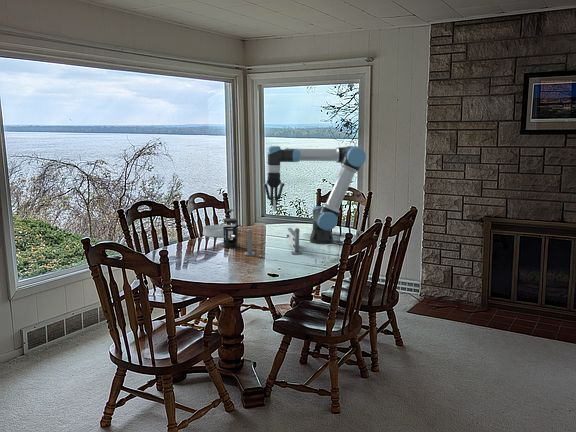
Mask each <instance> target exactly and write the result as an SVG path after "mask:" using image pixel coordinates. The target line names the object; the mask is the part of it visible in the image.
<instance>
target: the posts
mask: <svg viewBox="0 0 576 432" xmlns="http://www.w3.org/2000/svg"><path fill="white" fill-rule="evenodd" d="M294 231H295V250H291V251H290V253H291V255H292V256H296V255H297V256H298V255H302V256H303V255H304V254H303V251H302V250H300V231H301V230H300V228H299V227H296V228H294ZM246 233H247V235H246V236H247V237H246V240H247V243H246V245H247V251H244V253H243V255H244V257H246V256H248V257H250V256H253V257H255V256H256V253H255V251H253V247H252V246H253V244H252V243H253V241H252V240H253V239H252V234H253V231H252V229H251V228H248V229H246Z"/></svg>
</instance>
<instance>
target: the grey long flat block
mask: <svg viewBox="0 0 576 432" xmlns="http://www.w3.org/2000/svg"><path fill="white" fill-rule="evenodd" d="M287 232H288V233H287V234H286V238H288V239H287V242H288V244H289V246H291V247H292V248H293V251H295V229H293V228H292V227H287Z"/></svg>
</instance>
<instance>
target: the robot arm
mask: <svg viewBox="0 0 576 432" xmlns="http://www.w3.org/2000/svg"><path fill="white" fill-rule="evenodd" d="M366 159H367V155H366V152H365V150H364V149H363V148H361V147H360V146H353V145H348V146H342V147H339V146H338V147H336V148H288V147H287V148H284V149H281V146H279V145H270V146H268V147H267V180H266V182H265V183H263V184H262V185H263V187H264V189H265V194H266V196H267V198H266V199H268V200H269V201H270V206H271V211H272V212H276V209H277V207H276V206H277V205H278V200H280V199H281V198H282V193H283V188H284V187H285V183H284V182H282V181H281V163H298V162H336V163H339V164H340V166H341V168H340V170H339V173H338V176H337V178H336V180H335V182H334V184H333V187H332V189H331V190H330V194H329V196H328V198H327V199H326V203H324V204H322V205H320V206H319V205H317V206H315V205H314V206H313V207H312V231H311V233H310V236H309V243H313V244H317V245H318V244H320V245H323V244H332V243H334V236H333V233H332V230H333V229H335V228H336V226H337V225H338V217H339V215H340V212H341V211H340V207H341V204H342V203H343V200H344V198H345V196H346V194H347V191H348V189H349V187H350V185H351V183H352V180H353V178H354V176H355V174H357V173H358V172H359V170H360V169H361V167H362V166H363V165H364V164H365V162H366ZM268 186H269V187H268ZM278 187H279V189H278ZM269 189H270V191H269Z"/></svg>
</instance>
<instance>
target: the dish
mask: <svg viewBox="0 0 576 432" xmlns="http://www.w3.org/2000/svg"><path fill="white" fill-rule="evenodd" d="M226 226H230V224H210V225H205V226H203V227H202V236H204V237H208V238H224V230H223V227H226ZM231 226H233V224H231ZM227 229H230V228H227ZM231 229H233V228H231ZM228 235H230V231H228ZM231 235H233V231H231ZM225 236H226V231H225Z"/></svg>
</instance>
